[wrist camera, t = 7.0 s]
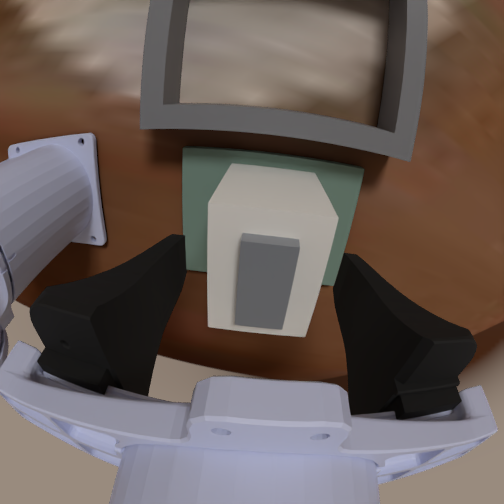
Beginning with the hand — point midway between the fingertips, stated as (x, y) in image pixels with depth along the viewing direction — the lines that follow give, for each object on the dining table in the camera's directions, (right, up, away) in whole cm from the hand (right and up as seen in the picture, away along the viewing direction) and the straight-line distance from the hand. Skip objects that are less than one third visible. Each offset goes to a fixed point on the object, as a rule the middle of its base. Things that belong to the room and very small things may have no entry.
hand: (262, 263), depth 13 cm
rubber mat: (0, +2, +4) cm, 5 cm away
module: (0, +2, +4) cm, 4 cm away
